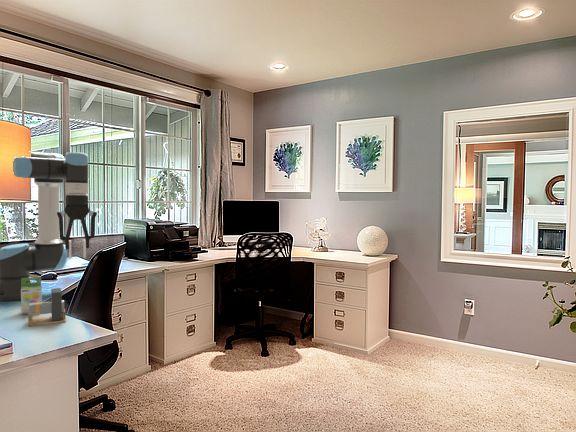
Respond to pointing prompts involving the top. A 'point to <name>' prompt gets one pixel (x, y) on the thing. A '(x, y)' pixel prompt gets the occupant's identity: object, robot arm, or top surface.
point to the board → (44, 320)
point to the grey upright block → (56, 304)
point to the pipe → (42, 308)
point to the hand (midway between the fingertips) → (77, 257)
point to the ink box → (30, 293)
